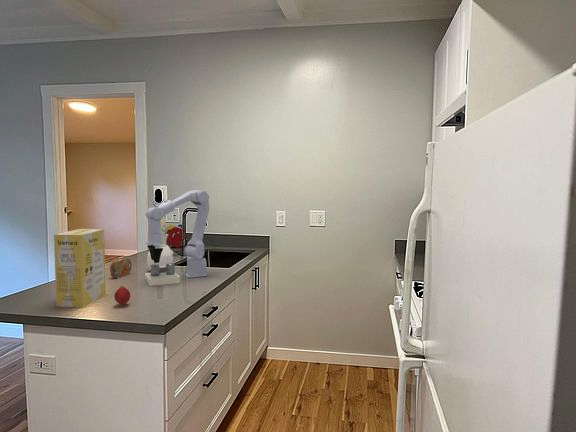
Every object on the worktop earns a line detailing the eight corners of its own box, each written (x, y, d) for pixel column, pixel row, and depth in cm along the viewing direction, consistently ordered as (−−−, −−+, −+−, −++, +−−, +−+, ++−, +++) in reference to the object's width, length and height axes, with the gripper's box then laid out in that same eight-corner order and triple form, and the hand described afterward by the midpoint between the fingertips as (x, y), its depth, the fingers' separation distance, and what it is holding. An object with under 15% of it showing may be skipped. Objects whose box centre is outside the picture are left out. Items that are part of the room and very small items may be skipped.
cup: (176, 268, 229) (176, 244, 228) (167, 274, 216) (167, 248, 215) (153, 267, 230) (153, 243, 229) (142, 273, 217) (142, 247, 216)
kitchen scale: (173, 276, 211) (173, 264, 211) (180, 283, 198) (179, 269, 198) (144, 279, 205) (144, 266, 204) (149, 286, 192) (149, 272, 191)
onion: (117, 303, 165) (117, 283, 165) (132, 303, 166) (132, 283, 165) (112, 307, 160) (112, 287, 159) (127, 307, 160) (127, 287, 159)
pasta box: (81, 293, 178) (79, 228, 176) (105, 294, 178) (104, 229, 175) (56, 306, 160) (53, 234, 157) (83, 307, 160) (81, 235, 157)
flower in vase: (155, 254, 269) (154, 216, 267) (173, 254, 273) (173, 216, 271) (155, 258, 257) (154, 218, 255) (174, 257, 260) (173, 218, 258)
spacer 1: (158, 274, 200) (158, 263, 200) (160, 275, 197) (160, 265, 196) (150, 274, 198) (149, 264, 198) (151, 276, 195) (151, 266, 194)
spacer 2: (173, 272, 204) (173, 262, 203) (175, 274, 200) (175, 264, 199) (165, 273, 202) (165, 263, 201) (166, 275, 198) (166, 265, 198)
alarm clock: (183, 245, 306) (183, 218, 304) (189, 247, 299) (188, 219, 298) (164, 247, 296) (164, 219, 295) (169, 249, 290) (169, 221, 288)
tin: (114, 279, 203) (114, 262, 202) (109, 279, 204) (108, 262, 203) (132, 273, 218) (131, 257, 217) (126, 272, 218) (126, 256, 218)
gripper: (143, 231, 201) (144, 259, 202) (148, 235, 188) (148, 264, 189) (158, 230, 204) (159, 258, 205) (164, 234, 191) (164, 263, 192)
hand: (155, 261), depth 197 cm, fingers open, 7 cm apart
